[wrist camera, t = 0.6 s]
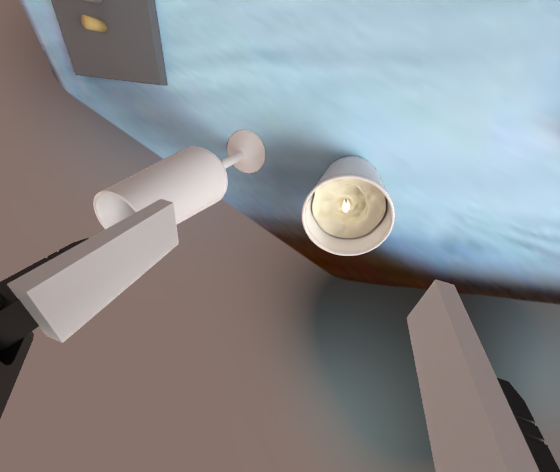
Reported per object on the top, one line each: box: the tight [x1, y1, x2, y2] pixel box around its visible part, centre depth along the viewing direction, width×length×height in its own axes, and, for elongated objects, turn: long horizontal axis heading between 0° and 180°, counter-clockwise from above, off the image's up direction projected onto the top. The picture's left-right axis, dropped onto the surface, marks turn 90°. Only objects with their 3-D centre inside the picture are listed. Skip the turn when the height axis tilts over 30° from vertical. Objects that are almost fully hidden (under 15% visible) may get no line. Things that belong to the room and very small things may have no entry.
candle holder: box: [302, 156, 395, 256], centre depth 30 cm, size 10×10×12 cm
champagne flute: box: [93, 130, 265, 229], centre depth 28 cm, size 7×7×24 cm
